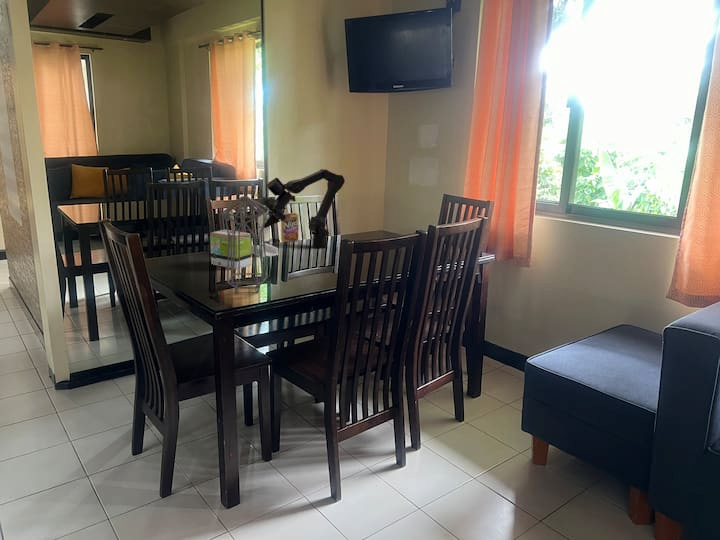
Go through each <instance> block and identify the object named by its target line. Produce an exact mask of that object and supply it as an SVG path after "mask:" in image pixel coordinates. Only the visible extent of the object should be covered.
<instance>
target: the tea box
mask: <svg viewBox="0 0 720 540" xmlns="http://www.w3.org/2000/svg"><path fill="white" fill-rule="evenodd" d="M232 230H233V229H232ZM232 230H230V229H228V231H229V233H230V232H231V231H232ZM233 232H234V231H233ZM233 232H232V233H233ZM238 232H239V231H235V235H238ZM232 233H231V234H230V235H232ZM233 235H234V233H233ZM240 235H243V236H252V234H251V232H250V233H249V232H246V231H245V232H244V231H240ZM228 238H229V236H228V233H227V228H226V229H220V230H217V231H212V232H210V233H209V241H210V242H209V245H210V261H211V263H210V264H211V265H212V264H213V266H219V267H223V268H227V265H228ZM251 238H252V237H241V236H240V268H241V269H243V267H244V268H246V266H247V267H250V266H252V253H251V245H252V242H251V241H252V239H251ZM233 243H234V236H232V264H233ZM229 269H231V247H230V252H229ZM236 269H237V270H238V236H235V260H234V270H236Z"/></svg>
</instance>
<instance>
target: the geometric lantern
mask: <svg viewBox="0 0 720 540" xmlns="http://www.w3.org/2000/svg"><path fill="white" fill-rule="evenodd" d="M248 204H249V205H250V206H251V208H249V207H248ZM238 205H239V207H238V208H237V206H238ZM260 206H261V207H263V208H262V209H261V208H260ZM265 206H266V205H264V204H261V203H260V202H258V201H256V200H254V199H253V198H250V197H249V196H247V195H242V196H241V197H239V198H238V199H236V201H234V202H233V203H232V204H231V205H229V206H228V207H227V208H225V209H224V210H223V211H222V212H221V213H219V215H221V217H223V218H224V221H225V226H226V227H225V228H226V230H227V233H228V236H229V238H228V265H227V267H226V268H227V270H226V271H227V272H226V273H227V274H226V283H227V284H229V285H230V286H231V287H233V288H234V289H235V290H234V293H235V294H257V293H259V292H260V289H261V285H263V283H265V282H266V280H267V278H268V276H269V273H268V263H267V257H266V251H265V243H266V241H265V240H264V231H263V230H264V225H265V221H266V218H267V215H268V212H269V208H267V207H265ZM242 207H243V208H242ZM232 210H233V211H235V212H236V214H235V213H233V214H232V213H231V211H232ZM265 210H267V211H266V213H265V212H264V211H265ZM242 211H243V212H242ZM249 211H253V214H251V215H248V212H249ZM256 213H257V214H256ZM238 214H240V215H238ZM261 214H262V215H261ZM230 216H231V217H232V216H233V217H234V219H233V218H231V217H230ZM259 216H263V224H262V227H263V228H262V227H260V225H259V223H258V217H259ZM240 218H241V219H242V221H241V222H238V220H237V219H240ZM246 219H249V220H247V221H245V220H246ZM228 221H229V222H231V224H232V227H233V228H234V229H232V231H231V232H230V233H229V231H228V230H229V226H228ZM252 221H256V223H257V224H258V225H259V227H260V228H261V230H258V229H251V228H250V227H249V225H248V223H251V222H252ZM235 224H236V226H235ZM243 225H245V226H246V228H247V229H241V227H242V226H243ZM258 225H257V226H258ZM238 226H239V227H238ZM233 231H234V232H233ZM235 231H238V235H235ZM244 231H245V232H246V231H247V232H250V233H251V236H243V235H240V232H244ZM254 231H255V232H258V231H260V233H259V235H258V234H257V235H255V234H254ZM232 232H233V233H234V235H233V233H232ZM231 233H232V235H230V234H231ZM262 234H263V241H262ZM260 235H261V240H260ZM232 236H234V243H233V264H232ZM235 236H238V269H237V270H238V272H237V273H235V269H234V260H235ZM240 236H241V237H251V238H253V245H254V253H255V254H254V266H255V267H254V268H255V273H253V272H247V273H246V272H244V273H242V272H241V269H240ZM256 238H257V240H258V247H259V251H260V257H259V260H260V261H259V262H260V272H258V265H257V264H258V263H257V255H256V247H257V246H256ZM230 247H231V268H229V252H230ZM262 249H264V255H265V257H263V251H262ZM264 264H265V273H266V274H265V273H264ZM229 271H230V272H229ZM229 273H230V277H229ZM241 275H243V276H245V275H247V276H249V275H250V276H251V275H253V276H254V275H255V280H254V281H252V280H251V281H241V278H240V276H241ZM258 275H259V278H258ZM235 276H237V277H238V280H237V278H236V277H235ZM230 280H231V281H230ZM234 280H235V281H236V282H235V281H234ZM241 285H251V286H247V287H245V286H241ZM252 285H253V286H252ZM239 289H243V290H244V289H248V290H249V289H252V290H253V289H254V290H255V291H248V292H247V291H242V292H241V291H240V292H239Z"/></svg>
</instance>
